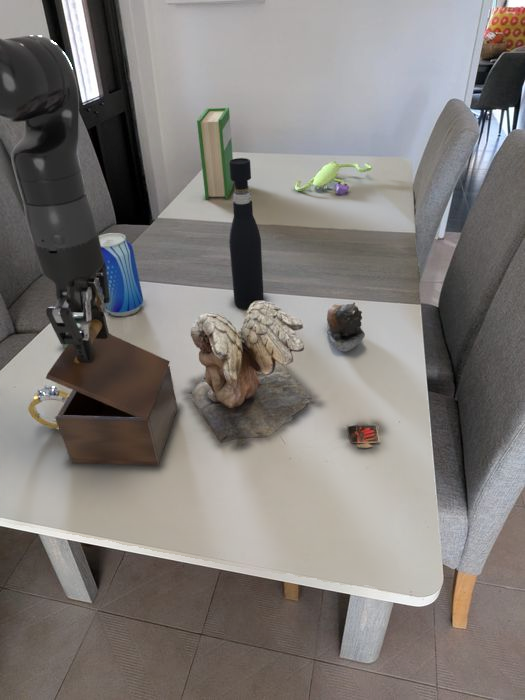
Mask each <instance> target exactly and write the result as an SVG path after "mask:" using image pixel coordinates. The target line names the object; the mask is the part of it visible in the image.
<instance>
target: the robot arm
mask: <svg viewBox="0 0 525 700" xmlns="http://www.w3.org/2000/svg"><path fill="white" fill-rule="evenodd" d="M0 119H2V120H4V121H7V122H12V123H20V122H24V134H23V136H22V138H21V139H20V140H19V142H17V144H15V146H14V147H13V149H12V151H11V152H10V153H11V154H10V160H11V161H10V162H11V165H12V168H13V172H14V176H15V180H16V183H17V187H18V191H19V193H20V197H21V200H22V205H23V208H24V217H25V222H26V225H27V229H28V232H29V235H30V239H31V243H32V245H33V249H34V252H35V255H36V259H37V262H38V265H39V269H40V273H41V274H42V275H43V276H44V277H45V278H47V279H49V281H52V283H54V285H55V296H56V299H57V302H56V303H55V306H48V307H47V308H46V310H45V314H46V317H47V318H48V319H47V320H48V321H49V322H50V325H51V327H52V329H53V331H54V333H55V335H56V337H57V339H58V342H59V343H60V344H61V345H62V344H73V347H74V350H75V354H76V357H77V360H78V361H79V362H81V363H92V362H93V361H94V359H95V355H94V351H93V347H92V344H91V340H90V337H89V328H88V323H89V322H90V321H91V320H92V319H97V320H99V321H100V322H101V323H102V329H101V330H100V332H99V333H98V335H97V336H96V339H106V338H107V337H108V336H109V334H110V331H109V328H108V322H107V319H106V315H105V314H106V313H107V310H106V306H105V303H109V301H110V297H109V288H108V280H107V271H106V263H105V261H104V259H103V254H102V250H101V245H100V240H99V236H100V235H99V231H98V228H97V223H96V218H95V213H94V209H93V206H92V204H91V201H90V198H89V195H88V192H87V187H86V182H85V178H84V173H83V168H82V165H81V160H80V157H79V156H80V155H79V142H80V96H79V88H78V82H77V78H76V75H75V72H74V69H73V67H72V63H71V62H70V60H69V57H68V56H67V55H66V53H65V52H64V51H63V49H62V48H61V47H60V46H59V45H58V44H57V43H56V42H54V41H53V40H52V39H50V38H49V37H45V36H44V35H43V36H42V35H35V34H33V35H24V36H17V37H11V38H10V37H9V38H1V37H0ZM100 287H101V288H102V290H101V288H100ZM74 313H75V314H83V316H73V315H74ZM76 323H79V324H80V325H81V331H80V330H79V328H78V326H77V324H76ZM66 333H67V334H66Z"/></svg>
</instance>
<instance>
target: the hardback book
mask: <svg viewBox="0 0 525 700" xmlns="http://www.w3.org/2000/svg"><path fill="white" fill-rule="evenodd" d="M230 117H231V115H230V107H215V108H212V107H211V108H210V107H209V108H206V109H204V111H203V112H202V113H201V115H200V116H199V117H198V118H197V120H196V125H197V132H198V142H199V152H200V159H201V169H202V178H203V187H204V196H205V200H209V199H210V197H211V198H213V197H224V198H225V200H228V199H230V196H231V193H232V190H233V187H234V186H235V183H234V181H232V180H231V178H230V177H231V176H230V165H229V162H230V160H232V159H234V157H233V143H232V130H231V129H232V128H231V118H230Z"/></svg>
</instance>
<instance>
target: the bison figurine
mask: <svg viewBox="0 0 525 700" xmlns="http://www.w3.org/2000/svg"><path fill="white" fill-rule="evenodd" d="M362 313H363V311H361V310H360V309H359V307H358V306H356V303H355V302H353V303H347V304H332V305H331V306H330V307H329V308H328V309H327V314H326V322H327V326H326V333H327V335H328V337H329V342H330V343H331V344H332V346H333V347H334V348H336V349H338V350H339V351H340V352H348V351H351V350H353V349H355V347H357V346H358V345H359V344H360V343H362V341H363V339H364V338H365V336H366V334H365V332H364V330H363V328H362V320H363V316H362Z"/></svg>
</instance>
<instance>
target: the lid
mask: <svg viewBox="0 0 525 700" xmlns="http://www.w3.org/2000/svg"><path fill="white" fill-rule="evenodd" d="M88 328H89V337H90V340H91V344H92V347H93V351H94V355H95V359H94V361H93V362H92V363H81V362H79V361H78V360H77V357H76V354H75V350H74V347H73V344H68V345H67V346H66V348H63V351H61V353H60V355H59V356H58V357H57V359H56V361H55V362H54V363H53V365H52V366H51V368H50V369H49V370H48V372H47V374H46V376H45V379H46V380H49V381H52V382H54V383H56V384H58V385H60V386H63V387H66V388H67V389H70V390H71V391H72V390H75V391H77V392H79V393H82V394H84V395H86V396H89V397H91V398H93V399H96V400H98V401H100V402H103V403H105V404H107V405H110V406H112V407H114V408H117V409H119V410H121V411H124V412H126V413H128V414H131V415H133V416H135V417H138V418H140V419H143V420H145V421H146V420H147V418H148V416H149V413H150V411H151V408H152V406H153V403H154V401H155V398H156V396H157V393H158V391H159V388H160V385H161V383H162V380H163V378H164V375H165V373H166V370H167V368H168V366H170V362H171V361H170V360H168V359H167V358H166V359H165V358H163V357H162V356H159V355H157V354H155V353H153V352H150V351H148V350H146V349H144V348H141V347H140V346H137V345H135V344H133V343H132V342H129V341H126V340H124V339H122V338H120V337H118V336H115V335H113V334H111V333H109V336H108V337H107V338H106V339H96V336H97V335H98V333H99V332H100V330H101V329H102V323H101V322H100V321H99V320H97V319H92V320H91V321H90V322H89V324H88ZM79 330H80V331H81V326H80V328H79Z"/></svg>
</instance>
